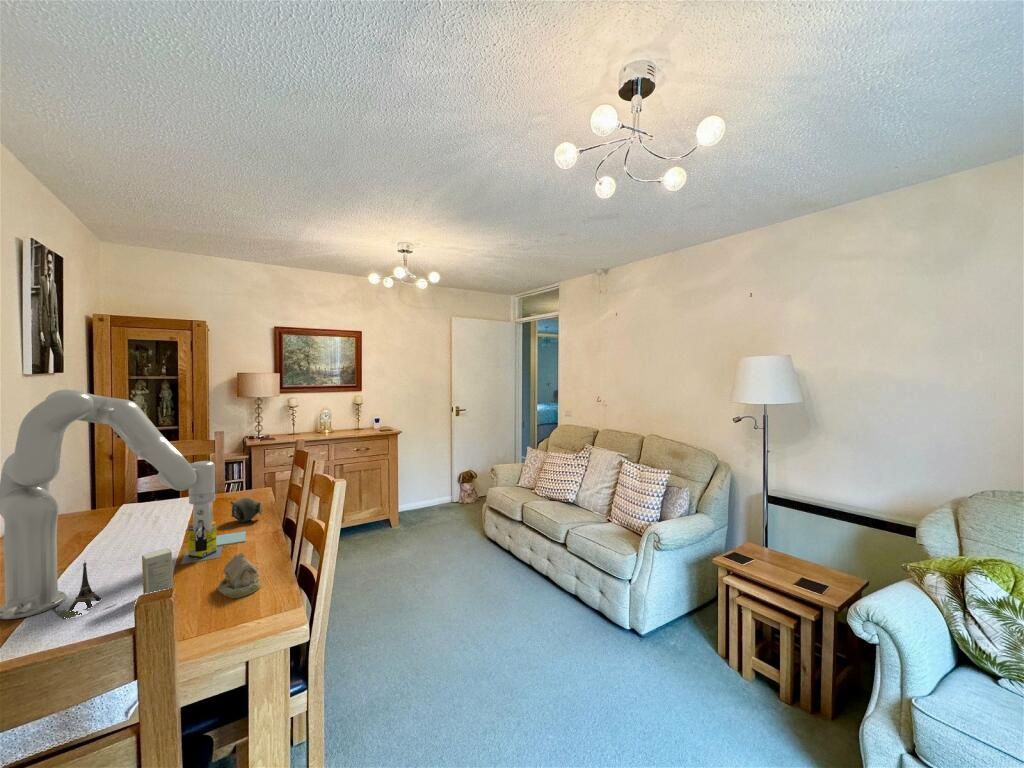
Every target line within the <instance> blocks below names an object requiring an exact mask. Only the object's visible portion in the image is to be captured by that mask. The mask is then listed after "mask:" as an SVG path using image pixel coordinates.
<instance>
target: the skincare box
mask: <svg viewBox="0 0 1024 768" xmlns="http://www.w3.org/2000/svg"><path fill="white" fill-rule="evenodd" d="M141 562H142V563H141V565H142V566H141V569H142V570H141V571H142V590H143V595H144V594H145V593H150V592H154V591H159V590H163V589H168V588H172V589H173V590H174V581H173V580H174V578H173V577H174V575H173V553H172V551H171V549H170V548H168V547H167V548H163V549H160V550H156V551H152V552H148V553H144V554H142V555H141Z"/></svg>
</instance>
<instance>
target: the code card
mask: <svg viewBox="0 0 1024 768" xmlns="http://www.w3.org/2000/svg"><path fill="white" fill-rule="evenodd" d="M223 546H224V545H222V546H216V552H215V553H212V554H210V555H208V556H206V557H204V558H193V557H188V551H185V552H184V555H183V557H182V560H181V562H180V565H186V564H192V563H196V562H197V563H198V562H203V561H209V560H215V559H220V558H221V556H222V551H223Z"/></svg>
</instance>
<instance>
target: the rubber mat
mask: <svg viewBox="0 0 1024 768" xmlns="http://www.w3.org/2000/svg"><path fill="white" fill-rule="evenodd" d="M246 538H247V530H244V531H239V532H233V533H226V534H225V533H224V534H219V535H217V534H216V547H220V546H227V545H233V544H238V543H245V542H246Z"/></svg>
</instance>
